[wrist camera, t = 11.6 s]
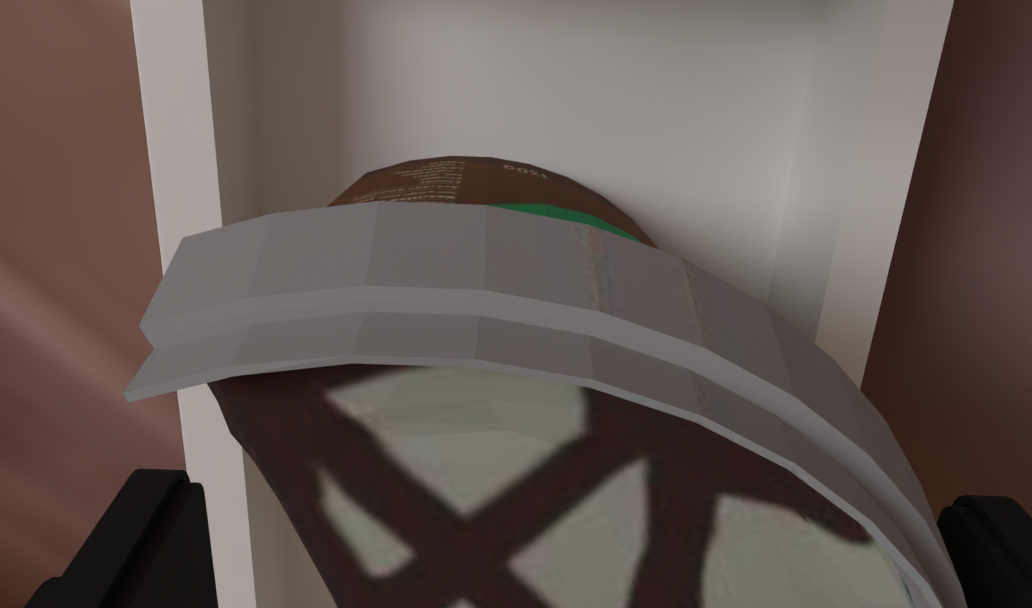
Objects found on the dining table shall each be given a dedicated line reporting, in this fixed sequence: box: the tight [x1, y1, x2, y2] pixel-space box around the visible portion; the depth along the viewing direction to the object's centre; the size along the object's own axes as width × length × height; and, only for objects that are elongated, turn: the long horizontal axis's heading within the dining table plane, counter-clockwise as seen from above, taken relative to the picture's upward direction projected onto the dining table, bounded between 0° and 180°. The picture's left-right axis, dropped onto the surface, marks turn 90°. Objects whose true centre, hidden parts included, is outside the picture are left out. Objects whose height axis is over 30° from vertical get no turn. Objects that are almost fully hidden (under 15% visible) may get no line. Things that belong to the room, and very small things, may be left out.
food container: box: [123, 156, 967, 608], centre depth 12 cm, size 12×6×10 cm, turn 20°
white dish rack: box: [130, 0, 954, 608], centre depth 13 cm, size 14×24×12 cm, turn 177°
